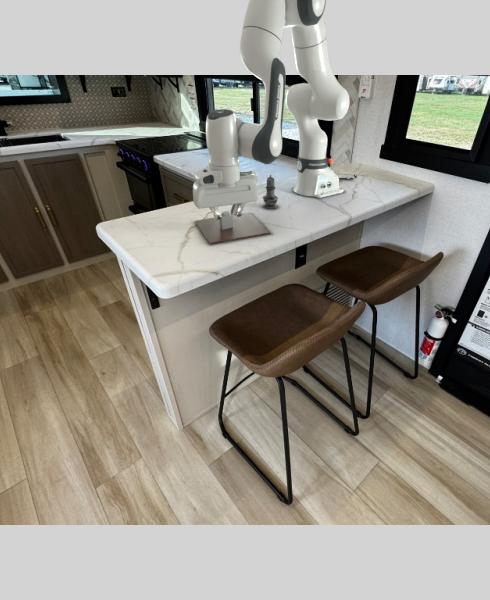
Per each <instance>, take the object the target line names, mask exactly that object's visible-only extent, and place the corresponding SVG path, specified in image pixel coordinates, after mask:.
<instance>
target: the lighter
mask: <svg viewBox="0 0 490 600" xmlns="http://www.w3.org/2000/svg"><path fill="white" fill-rule="evenodd" d="M239 207H240V204H232V206H231V209H230V211H228V210H225V211H222V212H221V214H220V219H219V224H220V228H221V229H222V230H223V229H227V228H231V227H233V217H232V215H236V214H237V211H238V209H239Z"/></svg>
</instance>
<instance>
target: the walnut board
mask: <svg viewBox="0 0 490 600" xmlns="http://www.w3.org/2000/svg"><path fill="white" fill-rule="evenodd" d="M232 217H233V227H231V228H227V229H223V230H222V229H221V228H220V224H219V220H215V219H214V217H211V218H205V219H197V220H194V222H195V224H196V225H197V227H198V228H199V230H200V231H201V233H202V235H203V236H204V238H205V239H206V240H207V242H208V244H209V245H210V246H211V245H217V244H222V243H229V242H233V241H239V240H244V239H251V238H256V237H261V236H266V235H270V234H271V231H270V230H269V229H268V228H267V227H265V225H264V224H263V223H261V221H260V220H258V219H257V218H256V217H255V216H254V215H253V214H252V213H251V212H246V213H242V216H239V217H237V215H232Z"/></svg>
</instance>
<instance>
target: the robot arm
mask: <svg viewBox="0 0 490 600" xmlns="http://www.w3.org/2000/svg"><path fill="white" fill-rule="evenodd" d="M248 1H249V2H248V4H247V8H246V12H245V15H244V20H243V25H242V30H241V36H240V44H239V55H240V59H241V61H242V63H243V65H244V67H245V68H246V69H247V71H249V73H251V74H252V75H253V76H255V77H256V78H257V79H259V80H260V81H261V82H262V83H263V86H264V106H263V107H264V109H263V119H262V122H261V123H253V122H250V121H245V120H243V119H241V118H239V117H238V116H237V115H236V114H235V112H234V111H233V110H232V109H228V108H221V109H216V110H212V111H210V112H209V113H208V114H207V116H206V118H205V119H206V120H205V140H206V148H207V150H208V165H207V166H205V167H203V168H201V169H199V170H196V171H195V172H194V173H193V177H194V180H195V181H194V182H193V185H192V200H193V201H192V202H193V204H194V206H195V207H196V208H197V209H198V210H199V209H200V210H201V209H202V210H203V209H208V208H209V209H210V211H211V213H212V214H213V218H214V219H215V220H219V219H220V215H221V214H220V213H219V212H216V208H217V207H222V206H223V207H224V206H230V205H233V204H240V205H239V208H238V211H237V214H236V215H237V217H239V216H242V214H243V211H244V209H245V207H246V204H247V203H254V202H257V201H258V199H259V190H258V174H257V173H256V172H254V171H253V170H248V171H240V169H241V168H240V159H239V158H240V157H241V158H245V159H250V160H254V161H255V162H258V163H262V164H264V165H270V164H272V163H274V162H275V161H276V160H277V159H278V158H279V157H280V155H281V154H282V151H283V145H284V144H283V123H284V122H283V121H284V109H285V108H284V107H285V106H286V108H287V110H288V112H289V113H290V115H292V117H293V120H294V121H295V123H296V126H297V130H298V136H299V145H298V146H299V148H298V155H297V166H296V167H297V173H296V179H295V183H294V186H293V189H292V190H293V192H294V193H295V194H297V195H300V196H306V197H314V198H317V199H321V198H326V197H330V196H334V195H337V194H342V193H344V192H345V191H344V188H343V187H342V186H341V185H340V181H352V180H354V179H355V178H358V176H357V175H356V174H353V176H355V175H356V176H355V177H354V178H352V177H349V178H350V179H347V178H348V177H339V175H337V173H336V171H335V170H333V169H331V167H329V165H333V164H334V159H333V158H328V157H327V148H328V136H327V134H326V132H325V131H324V130H322V129H321V127H320V125H319V122H318V121H319V120H323V121H339V120H342V119H344V117H345V116H346V115H347V114H348V111H349V108H350V102H351V101H350V95H349V92H348V90H346V88H344V87H343V86H342V85H341V84H340V82H339V81H338V79H337V78H336V76H335V74H334V72H333V70H332V67H331V64H330V63H331V62H330V59H329V50H328V49H329V48H328V41H327V40H328V39H327V30H326V22H325V17H324V12H325V10H326V4H327V0H248ZM285 28H287V29H288V28H290V31H291V41H292V49H293V54H294V60H295V66H296V71H297V73H298V74H299V76H300V77H301V78H303V79H304V80H305V81H306V82H307V83H306V82H302V83H296V84H293V85H291V86H290V87H289V88H288V89H287V92H286V84H287V83H286V81H287V79H286V78H287V74H286V72H287V71H286V67H285V64H284V63H283V61H282V58H281V49H282V44H283V38H284V31H285Z"/></svg>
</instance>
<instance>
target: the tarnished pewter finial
mask: <svg viewBox="0 0 490 600" xmlns="http://www.w3.org/2000/svg"><path fill="white" fill-rule="evenodd" d="M265 189H266V193H265V195H263V196H262V199H263V203H264V205H263V208H264V209H266V210H275V209H278V206H277V202H278V200H279V197H278V196H276V193H275V189H276V187H275V178H274V177H272V174H270V175H269V177H267V178H266V186H265Z"/></svg>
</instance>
